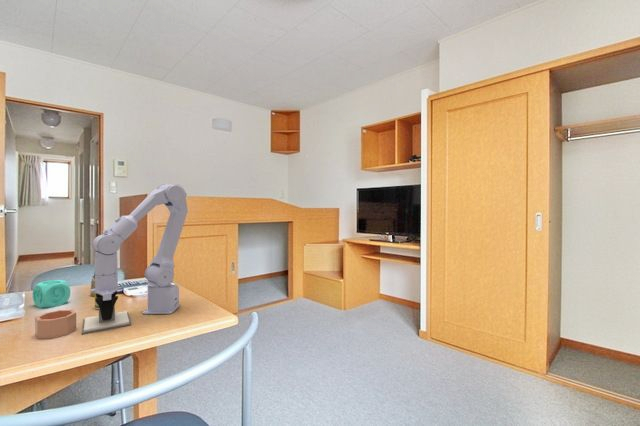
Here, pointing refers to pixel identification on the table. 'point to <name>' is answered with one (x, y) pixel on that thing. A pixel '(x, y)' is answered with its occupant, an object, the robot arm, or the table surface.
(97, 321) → the lid
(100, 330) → the mat
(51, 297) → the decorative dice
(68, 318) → the bowl
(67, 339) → the table surface
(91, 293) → the figurine
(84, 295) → the table surface
